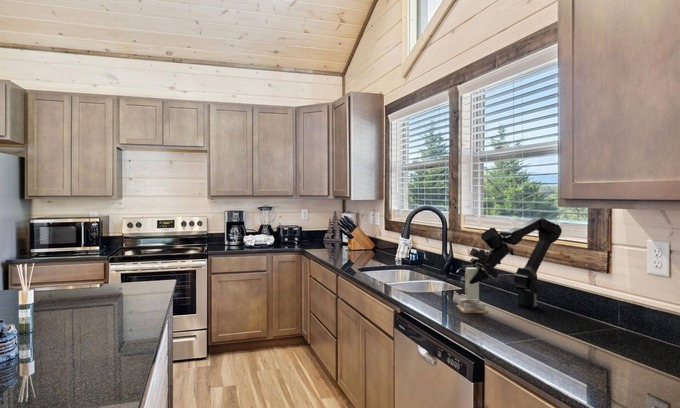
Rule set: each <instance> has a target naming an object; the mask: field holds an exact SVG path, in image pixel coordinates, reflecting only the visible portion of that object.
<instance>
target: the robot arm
mask: <svg viewBox="0 0 680 408" xmlns="http://www.w3.org/2000/svg"><path fill="white" fill-rule="evenodd" d="M535 231H538V232H537V235H538V236H537V237H538V240H537V242H536V245H535V246H534V248H533V251H532V252H531V254H530V255H529V259H528V261H526V262H527V263H526V264H525V265H524V267H518V268H517V269H516V272H515V274H513V276H514V277H513V284H514V287H515V290H516V291H518V293H517V305H516V306H517V307H524V308H530V309H533V308H535V307H538V306H539V304H537V294H540V293H541V289H542V287H541V286H540V285H539V283H538V282H537V281H538V274H537V272H538V270H539V269H540V266H541V264H542V262H543V261H544V258H545V256H546V254H547V253H548V251H549V249H550V246H551V245H552V244H553V243H555V242H557V241H558V239H559V238H560V237H561V235H562V233H563V230H562V227H561V226H560V225H559V224H556V223H554V222H552V221H549V220H547V219H546V218H544V217H539V216H538V217H533V218H532V219H530V220H528V221H526V222H525V223H522V224H520V225H518V226H517V227H514V228H513V227H512V228H506V229H503V230H500V232H498V231H497V228H495V227H489V229H487V230H485V231H484V232H482V233H481V235H480V239H481V240H482V241H483V242H484V243H485V245H486V246H487V247H488V248H489V249H491V250H489V251H488V250H487V251H486V250H484V249H482V248H479V249H476V248H474V247H472V248H471V250H470V252H469V256H471V257H472V258H471V259H470V260H469V262H470V263H471V268H473V267H476V268H478V270H477V273H476V274H475V275H474V277H473V278H472V279H471V281H470V284H474V283H476V282H479V283H480V282H481V281H485V280H487V279H491V278H492V279H493V280H495V279H497V278H498V277H499V272H498V270H496V269H495V268H496V267H497V265H501V264H502V262H501V261H502V260H504V259H505V257H506V256H507V255H508V254H509V255H510V256H514V248H513V247H511V246H516V245H518V244H519V243H520V242H521V241H522V240H523V238H524V237H525V236H528V235H530V234H532V233H533V232H535ZM551 243H552V244H551ZM550 244H551V245H550ZM509 245H511V246H509ZM490 276H491V277H490Z"/></svg>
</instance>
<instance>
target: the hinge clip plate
mask: <svg viewBox="0 0 680 408" xmlns="http://www.w3.org/2000/svg"><path fill="white" fill-rule="evenodd" d="M456 308H457V309H458V310H459V311H460V312H461V313H463V314H475V313H476V314H479V313H480V314H485V313H487V314H488V312H489V310H488V309H486V303H480V299H479V300H468V299H467V298H463V299H458V304H456Z"/></svg>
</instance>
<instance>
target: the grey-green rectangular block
mask: <svg viewBox="0 0 680 408" xmlns="http://www.w3.org/2000/svg"><path fill="white" fill-rule="evenodd" d="M477 270H478V268H476V267H473V268H472V267H465V272H464V281H465V283H464V285H465V287H464V295H465V296H464V297H465V298H464V299H468V300H479V301H480V281H479V282H476V283H474V284H470V281H471V279H472V278H473V277H474V275H475V274H476V273H477Z"/></svg>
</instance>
